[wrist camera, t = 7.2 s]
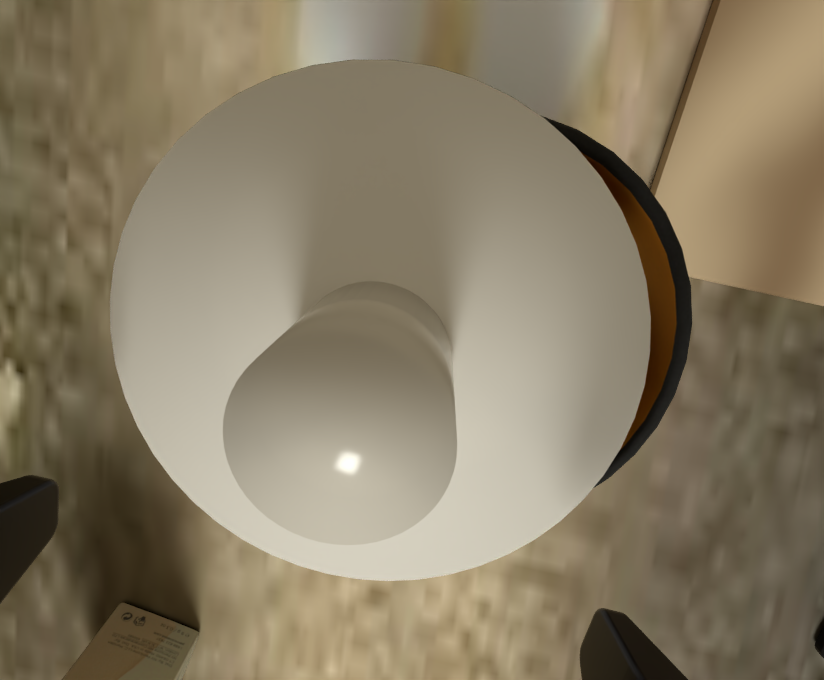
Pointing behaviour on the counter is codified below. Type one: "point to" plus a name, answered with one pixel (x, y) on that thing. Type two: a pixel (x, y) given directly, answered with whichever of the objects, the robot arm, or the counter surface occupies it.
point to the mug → (663, 285)
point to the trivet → (751, 150)
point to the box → (136, 648)
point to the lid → (380, 320)
